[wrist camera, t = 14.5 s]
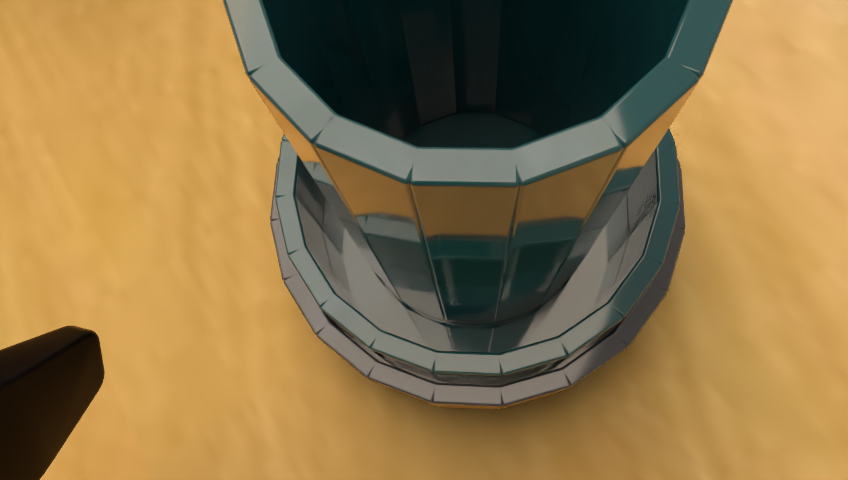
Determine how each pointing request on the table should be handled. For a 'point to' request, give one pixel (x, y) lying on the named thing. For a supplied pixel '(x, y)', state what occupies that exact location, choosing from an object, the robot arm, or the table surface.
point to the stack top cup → (493, 342)
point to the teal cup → (475, 128)
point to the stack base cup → (475, 393)
